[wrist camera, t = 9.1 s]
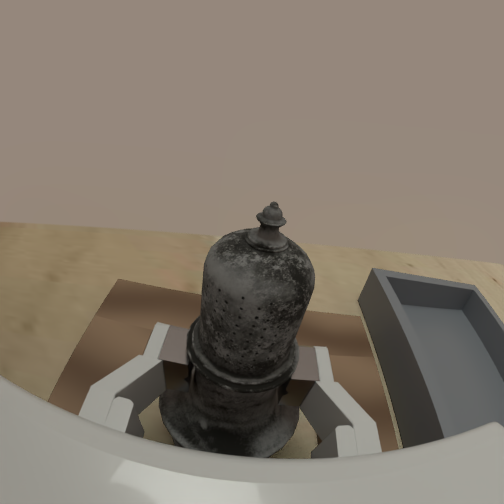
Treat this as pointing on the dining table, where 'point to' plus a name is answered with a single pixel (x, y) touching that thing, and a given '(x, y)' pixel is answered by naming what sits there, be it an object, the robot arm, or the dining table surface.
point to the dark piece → (243, 344)
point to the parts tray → (436, 353)
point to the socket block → (183, 315)
